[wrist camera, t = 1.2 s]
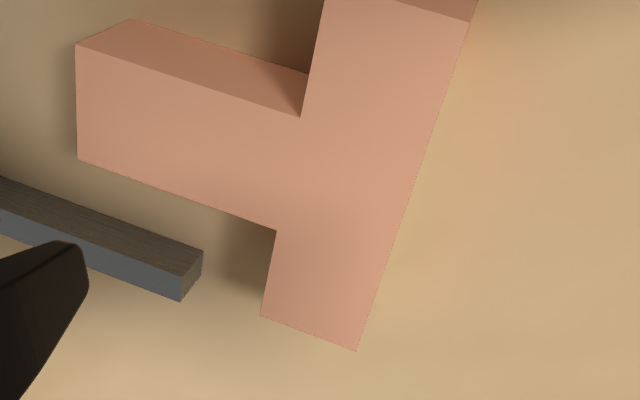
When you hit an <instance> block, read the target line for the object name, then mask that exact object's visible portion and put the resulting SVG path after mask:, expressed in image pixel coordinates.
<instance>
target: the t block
mask: <svg viewBox="0 0 640 400" xmlns="http://www.w3.org/2000/svg"><path fill="white" fill-rule="evenodd" d="M477 1H478V0H325V1H324V5H323V10H322V15H321V20H320V25H319V30H318V35H317V39H316V44H315V49H314V54H313V59H312V64H311V68H310V73H309V74H306V73H303V72H299V71H296V70H293V69H290V68H287V67H284V66H281V65H277V64H274V63H271V62H268V61H265V60H262V59H259V58H255V57H252V56H249V55H246V54H243V53H240V52H237V51H233V50H230V49H227V48H224V47H221V46H218V45H215V44H211V43H208V42H205V41H202V40H199V39H196V38H193V37H189V36H186V35H183V34H180V33H177V32H174V31H171V30H167V29H164V28H161V27H158V26H155V25H152V24H149V23H145V22H142V21H139V20H136V19H133V18H131V19H129V20H127V21H125V22H123V23H120V24H118V25H116V26H114V27H111V28H109V29H107V30H105V31H103V32H100V33H98V34H96V35H94V36H91V37H89V38H87V39H85V40H83V41H80V42H78V43H76V44H75V78H76V119H77V159H78V160H81V161H84V162H87V163H89V164H92V165H95V166H98V167H101V168H103V169H106V170H109V171H112V172H115V173H117V174H120V175H123V176H126V177H129V178H131V179H134V180H137V181H140V182H143V183H145V184H148V185H151V186H154V187H156V188H159V189H162V190H165V191H168V192H170V193H173V194H176V195H179V196H182V197H184V198H187V199H190V200H193V201H196V202H198V203H201V204H204V205H207V206H210V207H212V208H215V209H218V210H221V211H224V212H226V213H229V214H232V215H235V216H238V217H240V218H243V219H246V220H249V221H251V222H254V223H257V224H260V225H263V226H265V227H268V228H271V229H274V230H277V233H276V238H275V243H274V248H273V253H272V257H271V262H270V267H269V272H268V277H267V282H266V287H265V291H264V296H263V301H262V306H261V311H260V316H263V317H266V318H268V319H271V320H274V321H276V322H279V323H281V324H284V325H287V326H289V327H292V328H295V329H297V330H300V331H303V332H305V333H308V334H310V335H313V336H316V337H318V338H321V339H324V340H326V341H329V342H331V343H334V344H337V345H339V346H342V347H345V348H347V349H350V350H353V351H355V352H356V350H357V347H358V344H359V341H360V338H361V335H362V333H363V330H364V327H365V324H366V321H367V318H368V315H369V312H370V310H371V307H372V304H373V301H374V298H375V295H376V292H377V289H378V287H379V284H380V281H381V278H382V275H383V272H384V269H385V266H386V264H387V261H388V258H389V255H390V252H391V249H392V246H393V243H394V241H395V238H396V235H397V232H398V229H399V226H400V223H401V220H402V218H403V215H404V212H405V209H406V206H407V203H408V200H409V197H410V195H411V192H412V189H413V186H414V183H415V180H416V177H417V174H418V171H419V169H420V166H421V163H422V160H423V157H424V154H425V151H426V148H427V146H428V143H429V140H430V137H431V134H432V131H433V128H434V125H435V123H436V120H437V117H438V114H439V111H440V108H441V105H442V102H443V100H444V97H445V94H446V91H447V88H448V85H449V82H450V79H451V77H452V74H453V71H454V68H455V65H456V62H457V59H458V56H459V54H460V51H461V48H462V45H463V42H464V39H465V36H466V33H467V31H468V28H469V25H470V22H471V19H472V16H473V13H474V10H475V7H476V4H477Z"/></svg>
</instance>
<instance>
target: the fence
mask: <svg viewBox="0 0 640 400" xmlns="http://www.w3.org/2000/svg"><path fill="white" fill-rule="evenodd" d="M0 233H1V234H3V235H6V236H8V237H11V238H14V239H16V240H19V241H21V242H24V243H27V244H29V245H32V246H34V247H36V246H38V245H41V244H44V243H47V242H50V241H53V240H63V241H67V242H72V243H76V244H78V245H79V246H80V247H81V249H82V251H83V255H84V260H85V264H86V267H89V268H92V269H94V270H97V271H99V272H102V273H105V274H107V275H110V276H112V277H115V278H118V279H120V280H123V281H125V282H128V283H131V284H133V285H136V286H138V287H141V288H144V289H146V290H149V291H151V292H154V293H157V294H159V295H162V296H164V297H167V298H170V299H172V300H175V301H177V302H181V301H182V299H183V298H184V297H185V295H186V294H187V293H188V291H189V290H190V289H191V287H192V286H193V285H194V283H195V282H196V281H197V280H198V278H199V277H200V275H201V267H202V259H203V251H201V250H198V249H195V248H193V247H190V246H187V245H185V244H182V243H179V242H176V241H174V240H171V239H168V238H166V237H163V236H160V235H158V234H155V233H152V232H149V231H147V230H144V229H141V228H139V227H136V226H133V225H130V224H128V223H125V222H122V221H120V220H117V219H114V218H112V217H109V216H106V215H103V214H101V213H98V212H95V211H93V210H90V209H87V208H85V207H82V206H79V205H76V204H74V203H71V202H68V201H66V200H63V199H60V198H57V197H55V196H52V195H49V194H47V193H44V192H41V191H39V190H36V189H33V188H30V187H28V186H25V185H22V184H20V183H17V182H14V181H12V180H9V179H6V178H3V177H1V176H0Z"/></svg>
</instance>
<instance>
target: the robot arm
mask: <svg viewBox="0 0 640 400" xmlns="http://www.w3.org/2000/svg"><path fill="white" fill-rule="evenodd" d="M88 289H89V279H88V274H87V269H86V264H85V260H84V255H83V251H82V249H81V247H80V246H79V245H78V244H76V243H72V242H67V241H63V240H53V241H50V242H47V243H44V244H41V245H38V246H36V247H33V248H30V249H27V250H24V251H22V252H19V253H16V254H13V255H10V256H7V257H5V258H2V259H0V400H19V399H20V398H21V397H22V395H23V394H24V393H25V391H26V390H27V389H28V387H29V386H30V385H31V383H32V382H33V381H34V379H35V378H36V376H37V375H38V374H39V372H40V371H41V369H42V368H43V366H44V365H45V363H46V362H47V360H48V358H49V357H50V355H51V354H52V352H53V350H54V349H55V347H56V345H57V344H58V342H59V340H60V339H61V337H62V335H63V334H64V332H65V330H66V329H67V327H68V325H69V324H70V322H71V321H72V319H73V317H74V316H75V314H76V312H77V311H78V309H79V307H80V306H81V304H82V302H83V301H84V299H85V297H86V295H87V293H88Z"/></svg>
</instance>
